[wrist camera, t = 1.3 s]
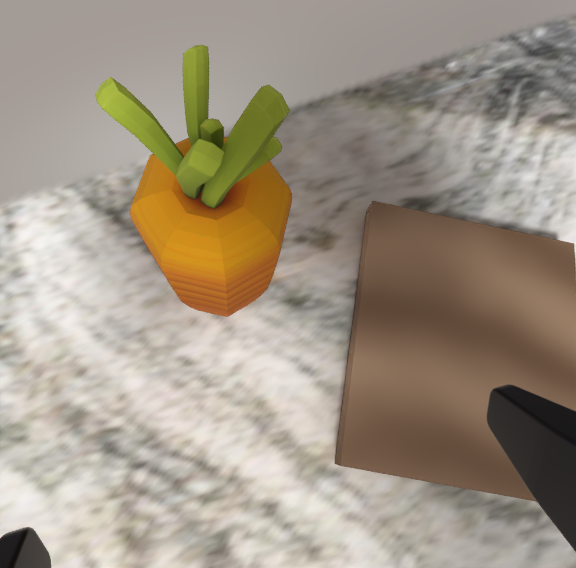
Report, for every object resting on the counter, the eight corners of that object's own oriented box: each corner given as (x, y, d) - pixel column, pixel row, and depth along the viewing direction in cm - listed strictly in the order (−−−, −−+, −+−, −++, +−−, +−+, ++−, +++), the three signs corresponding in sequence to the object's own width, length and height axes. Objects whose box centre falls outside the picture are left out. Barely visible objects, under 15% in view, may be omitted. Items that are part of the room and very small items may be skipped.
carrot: (155, 309, 22) (11, 101, 8) (214, 238, 24) (180, -38, 10) (233, 365, 22) (226, 249, 8) (288, 289, 23) (367, 76, 9)
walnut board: (570, 506, 21) (588, 510, 20) (334, 463, 21) (340, 465, 20) (559, 251, 26) (574, 243, 25) (366, 210, 25) (372, 200, 24)
